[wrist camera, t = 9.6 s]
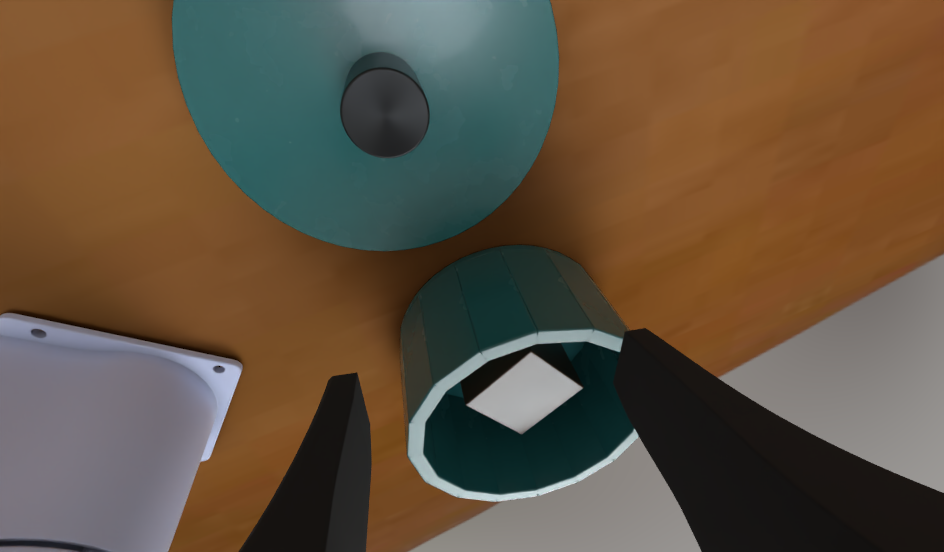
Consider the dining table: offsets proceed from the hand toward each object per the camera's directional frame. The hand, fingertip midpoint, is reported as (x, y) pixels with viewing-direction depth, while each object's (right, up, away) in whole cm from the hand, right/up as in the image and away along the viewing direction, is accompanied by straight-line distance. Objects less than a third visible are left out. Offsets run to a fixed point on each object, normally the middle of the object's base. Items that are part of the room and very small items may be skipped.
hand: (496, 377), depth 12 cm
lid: (-4, +10, +4) cm, 11 cm away
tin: (+1, 0, +13) cm, 13 cm away
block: (+1, -1, +12) cm, 12 cm away
